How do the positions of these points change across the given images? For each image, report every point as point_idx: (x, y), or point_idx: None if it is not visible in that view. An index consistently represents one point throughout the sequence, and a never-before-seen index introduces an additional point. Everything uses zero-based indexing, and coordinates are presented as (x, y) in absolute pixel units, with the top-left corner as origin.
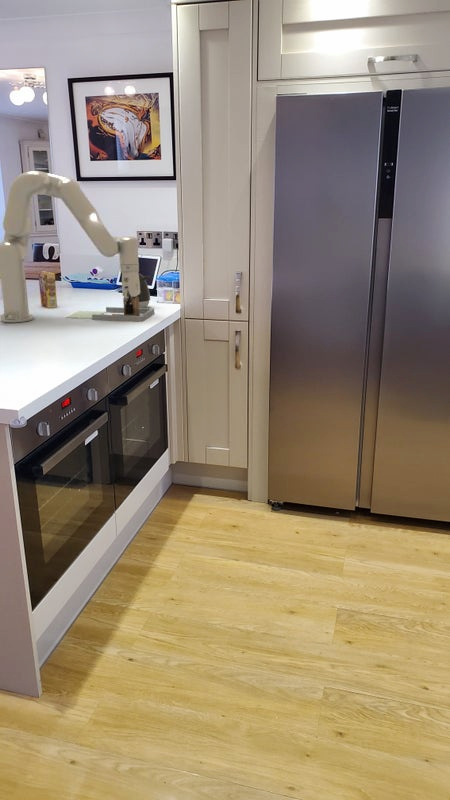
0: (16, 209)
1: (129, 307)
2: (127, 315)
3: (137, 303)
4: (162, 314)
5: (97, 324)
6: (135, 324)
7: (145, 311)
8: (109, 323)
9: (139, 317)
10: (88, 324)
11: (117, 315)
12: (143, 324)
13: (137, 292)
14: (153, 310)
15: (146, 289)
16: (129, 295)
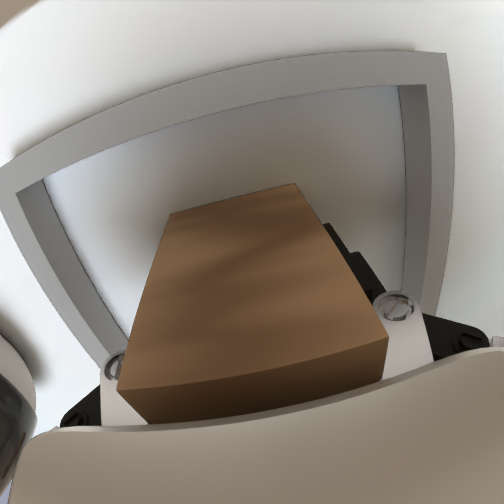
0: None
1: (378, 288)
2: (430, 220)
3: (216, 290)
4: (18, 61)
5: (497, 295)
6: (500, 83)
7: (51, 233)
8: (486, 260)
9: (444, 81)
10: (490, 325)
11: (433, 291)
12: (485, 25)
13: (232, 492)
14: (11, 161)
15: None
16: (24, 443)
